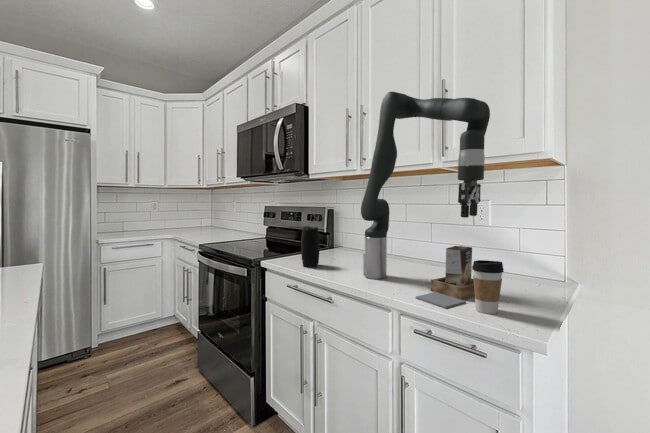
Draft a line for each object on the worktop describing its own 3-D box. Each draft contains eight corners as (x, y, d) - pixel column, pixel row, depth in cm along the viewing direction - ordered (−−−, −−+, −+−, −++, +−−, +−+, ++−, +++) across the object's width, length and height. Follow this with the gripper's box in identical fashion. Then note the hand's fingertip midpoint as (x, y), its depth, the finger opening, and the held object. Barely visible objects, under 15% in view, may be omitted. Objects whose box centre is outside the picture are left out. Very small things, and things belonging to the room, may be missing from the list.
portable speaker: (321, 264, 164) (321, 226, 163) (314, 268, 156) (314, 227, 154) (306, 263, 167) (306, 225, 166) (298, 267, 159) (298, 227, 157)
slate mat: (415, 298, 110) (415, 296, 110) (435, 293, 115) (435, 291, 115) (445, 308, 99) (445, 306, 99) (465, 303, 105) (465, 301, 105)
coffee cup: (493, 317, 92) (495, 265, 91) (465, 309, 99) (466, 260, 98) (507, 311, 97) (509, 261, 96) (480, 304, 104) (481, 257, 103)
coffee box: (463, 296, 111) (464, 250, 110) (444, 293, 115) (445, 248, 114) (471, 290, 118) (472, 246, 117) (453, 287, 122) (454, 245, 121)
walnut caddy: (430, 290, 118) (430, 279, 118) (456, 284, 126) (456, 274, 125) (460, 299, 108) (460, 288, 107) (486, 293, 115) (486, 281, 115)
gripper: (465, 166, 110) (464, 214, 111) (450, 164, 99) (449, 217, 100) (490, 165, 105) (487, 216, 106) (477, 162, 94) (474, 218, 95)
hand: (469, 216), depth 103 cm, fingers open, 8 cm apart
